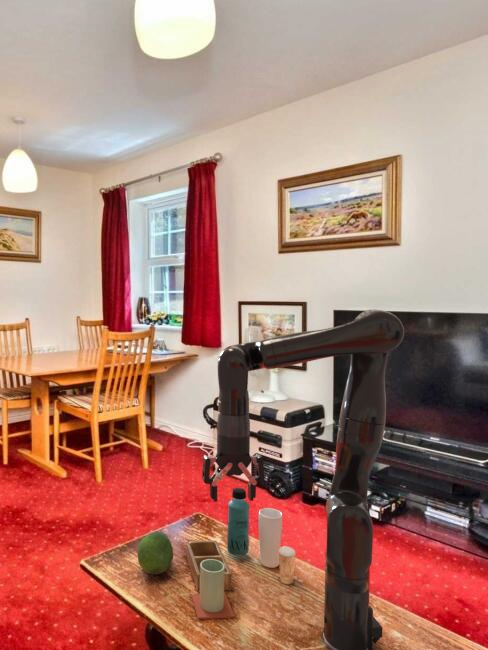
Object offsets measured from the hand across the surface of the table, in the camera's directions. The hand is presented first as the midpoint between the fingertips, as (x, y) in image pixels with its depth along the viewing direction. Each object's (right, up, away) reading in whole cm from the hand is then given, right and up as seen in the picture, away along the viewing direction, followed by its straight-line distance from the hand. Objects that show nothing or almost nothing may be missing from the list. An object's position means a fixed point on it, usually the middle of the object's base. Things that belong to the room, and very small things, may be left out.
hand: (232, 499), depth 115 cm
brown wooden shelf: (-3, -29, +23) cm, 37 cm away
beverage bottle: (+7, -29, +32) cm, 44 cm away
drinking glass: (+16, -29, +27) cm, 43 cm away
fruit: (-17, -29, +25) cm, 42 cm away
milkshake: (+18, -30, +19) cm, 40 cm away
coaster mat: (-4, -30, +8) cm, 31 cm away
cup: (-4, -29, +8) cm, 30 cm away
